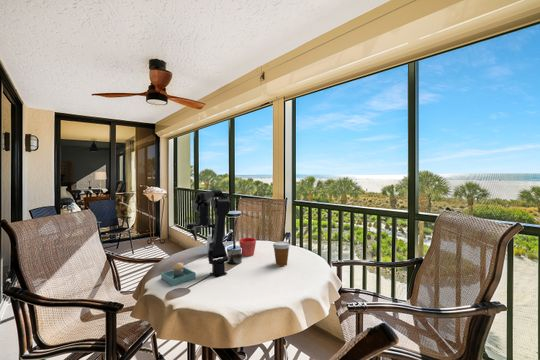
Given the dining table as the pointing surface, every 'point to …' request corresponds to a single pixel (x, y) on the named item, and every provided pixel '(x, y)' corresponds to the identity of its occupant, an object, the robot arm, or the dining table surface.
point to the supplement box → (209, 242)
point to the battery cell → (178, 270)
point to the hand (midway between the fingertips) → (204, 240)
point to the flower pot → (247, 246)
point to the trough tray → (169, 277)
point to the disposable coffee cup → (281, 252)
